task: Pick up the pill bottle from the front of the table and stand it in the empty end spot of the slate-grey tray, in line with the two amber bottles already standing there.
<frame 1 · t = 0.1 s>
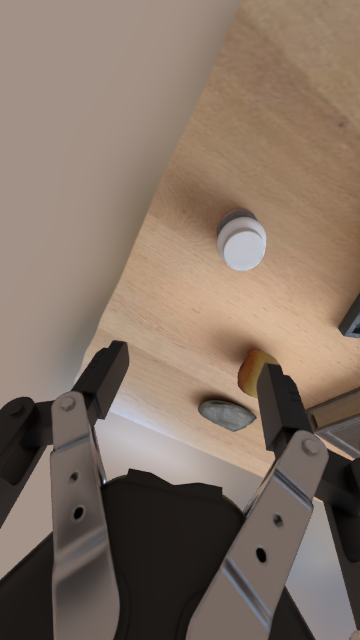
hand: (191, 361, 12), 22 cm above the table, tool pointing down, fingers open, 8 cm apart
stone: (226, 409, 51), on the table
fruit: (255, 356, 40), on the table
pill bottle: (237, 230, 28), on the table
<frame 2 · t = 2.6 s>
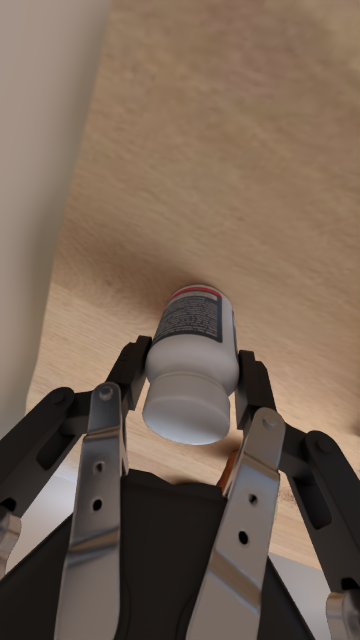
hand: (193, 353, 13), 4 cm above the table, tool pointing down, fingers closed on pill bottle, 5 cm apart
fruit: (240, 452, 29), on the table
pill bottle: (199, 312, 17), on the table, touching gripper
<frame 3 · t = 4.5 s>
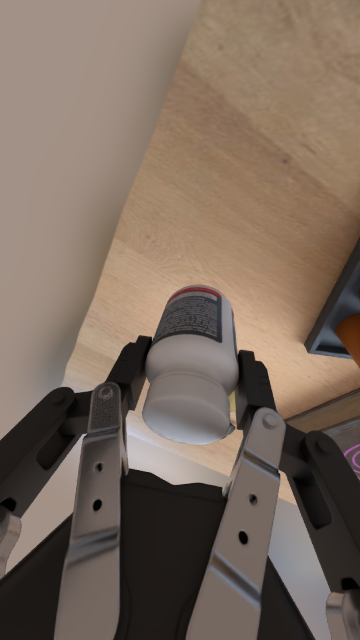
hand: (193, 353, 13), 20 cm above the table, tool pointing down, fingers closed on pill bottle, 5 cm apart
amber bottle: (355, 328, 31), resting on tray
pill bottle: (199, 312, 17), point 15 cm above the table, touching gripper
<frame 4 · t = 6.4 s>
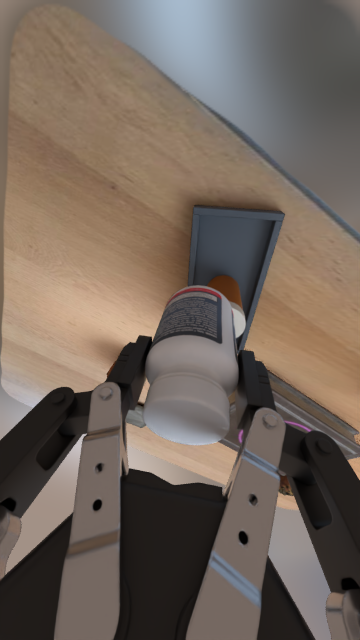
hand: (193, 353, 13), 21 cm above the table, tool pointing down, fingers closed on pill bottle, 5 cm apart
stone: (133, 408, 58), on the table
amber bottle middle: (222, 290, 32), resting on tray
pill bottle: (199, 312, 17), point 16 cm above the table, touching gripper
book: (270, 418, 51), on the table
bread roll: (285, 478, 68), on the table
tray: (222, 288, 33), on the table
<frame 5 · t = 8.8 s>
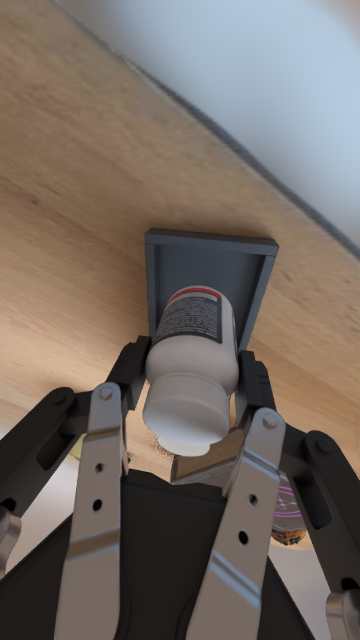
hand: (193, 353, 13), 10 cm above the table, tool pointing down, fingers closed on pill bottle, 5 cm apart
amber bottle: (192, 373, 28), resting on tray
pill bottle: (199, 312, 17), point 5 cm above the table, touching gripper
book: (265, 470, 43), on the table
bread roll: (283, 523, 60), on the table
tray: (197, 334, 25), on the table
when the fingers open (5 cm above the table, at t = 10.5 s): pill bottle stays where it is, resting on tray.
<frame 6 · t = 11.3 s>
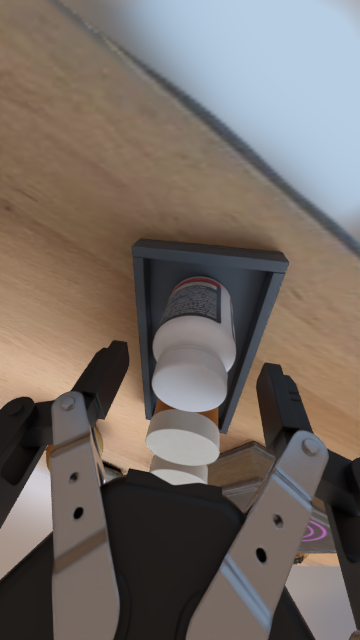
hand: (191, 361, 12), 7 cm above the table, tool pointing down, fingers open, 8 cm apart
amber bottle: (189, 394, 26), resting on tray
stone: (98, 465, 47), on the table
amber bottle middle: (194, 356, 22), resting on tray
fruit: (90, 423, 36), on the table
pill bottle: (200, 302, 18), resting on tray
book: (267, 490, 40), on the table
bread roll: (285, 540, 57), on the table
tray: (194, 353, 22), on the table
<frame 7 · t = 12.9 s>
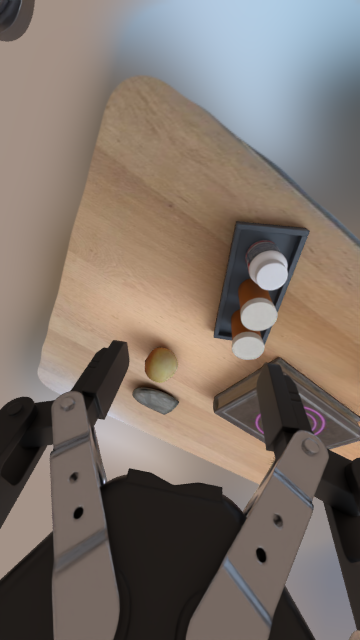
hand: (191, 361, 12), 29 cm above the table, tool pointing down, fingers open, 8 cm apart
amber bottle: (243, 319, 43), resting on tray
stone: (157, 396, 64), on the table
amber bottle middle: (251, 290, 39), resting on tray
fruit: (165, 352, 53), on the table
pill bottle: (261, 255, 35), resting on tray
book: (283, 406, 57), on the table
tray: (251, 289, 39), on the table
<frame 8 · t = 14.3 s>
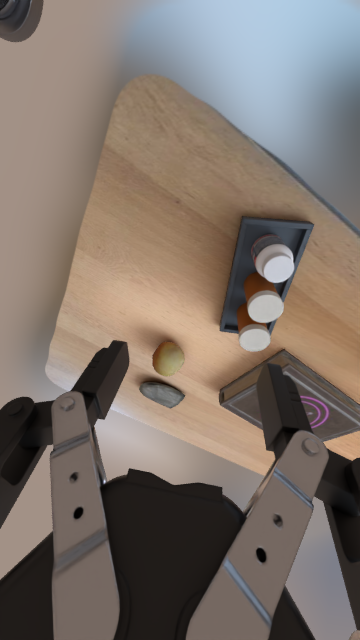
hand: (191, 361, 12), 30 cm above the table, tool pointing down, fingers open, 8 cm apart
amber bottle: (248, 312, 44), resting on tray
stone: (164, 390, 65), on the table
amber bottle middle: (257, 284, 40), resting on tray
fruit: (172, 346, 54), on the table
pill bottle: (266, 249, 36), resting on tray
book: (287, 397, 58), on the table
tray: (256, 282, 40), on the table
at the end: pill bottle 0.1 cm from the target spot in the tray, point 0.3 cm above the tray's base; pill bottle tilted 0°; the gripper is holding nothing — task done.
